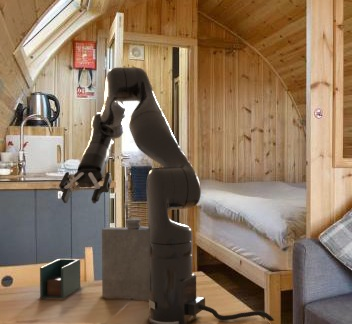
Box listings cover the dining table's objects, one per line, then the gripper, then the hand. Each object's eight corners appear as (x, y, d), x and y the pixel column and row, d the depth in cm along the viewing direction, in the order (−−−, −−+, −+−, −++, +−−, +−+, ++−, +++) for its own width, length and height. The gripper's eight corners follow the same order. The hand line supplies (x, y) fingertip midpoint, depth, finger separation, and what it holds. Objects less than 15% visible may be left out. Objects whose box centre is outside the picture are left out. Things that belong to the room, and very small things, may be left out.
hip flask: (100, 298, 116) (99, 219, 116) (107, 294, 120) (107, 217, 120) (160, 301, 113) (160, 220, 113) (166, 296, 117) (165, 218, 117)
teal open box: (59, 288, 126) (58, 258, 125) (80, 288, 125) (80, 259, 125) (40, 299, 116) (39, 267, 116) (63, 299, 115) (63, 267, 115)
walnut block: (54, 291, 121) (54, 276, 121) (69, 291, 121) (69, 276, 121) (46, 295, 117) (46, 279, 117) (62, 295, 117) (62, 280, 117)
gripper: (68, 152, 141) (50, 193, 129) (114, 152, 140) (99, 193, 129) (75, 169, 146) (59, 209, 135) (120, 169, 145) (106, 209, 134)
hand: (78, 201), depth 132 cm, fingers open, 8 cm apart
